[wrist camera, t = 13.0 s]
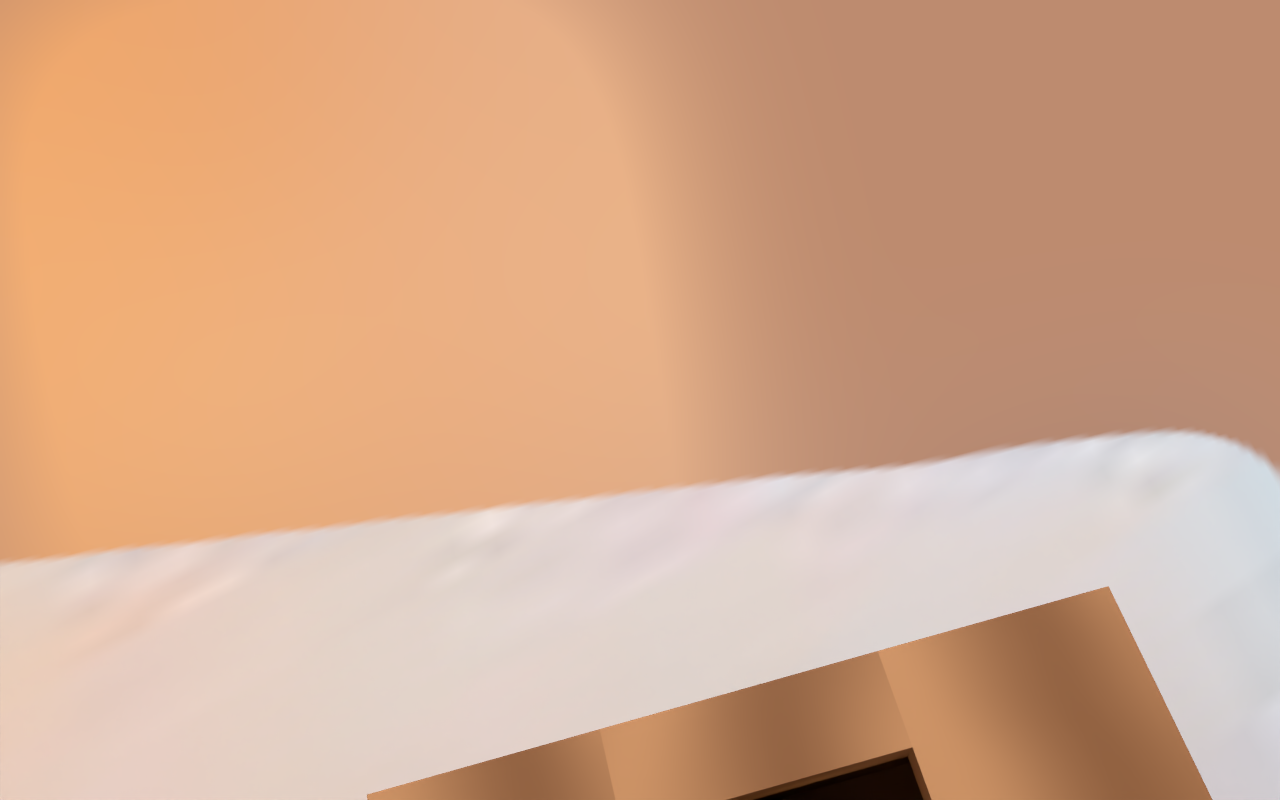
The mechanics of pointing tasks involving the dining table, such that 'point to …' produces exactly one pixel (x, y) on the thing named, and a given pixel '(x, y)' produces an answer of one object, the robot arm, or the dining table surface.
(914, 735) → the wooden box with opening
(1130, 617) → the dining table surface
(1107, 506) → the dining table surface
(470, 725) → the dining table surface
